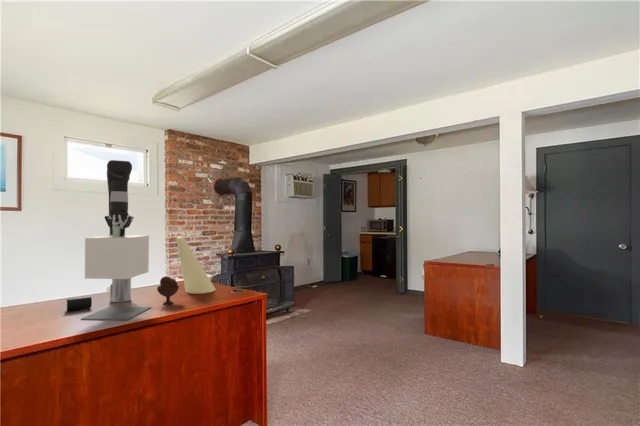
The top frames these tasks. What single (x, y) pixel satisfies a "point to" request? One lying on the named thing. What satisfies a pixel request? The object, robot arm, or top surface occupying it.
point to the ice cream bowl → (167, 288)
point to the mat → (116, 313)
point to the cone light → (192, 270)
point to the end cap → (79, 303)
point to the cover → (116, 256)
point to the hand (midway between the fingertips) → (118, 236)
